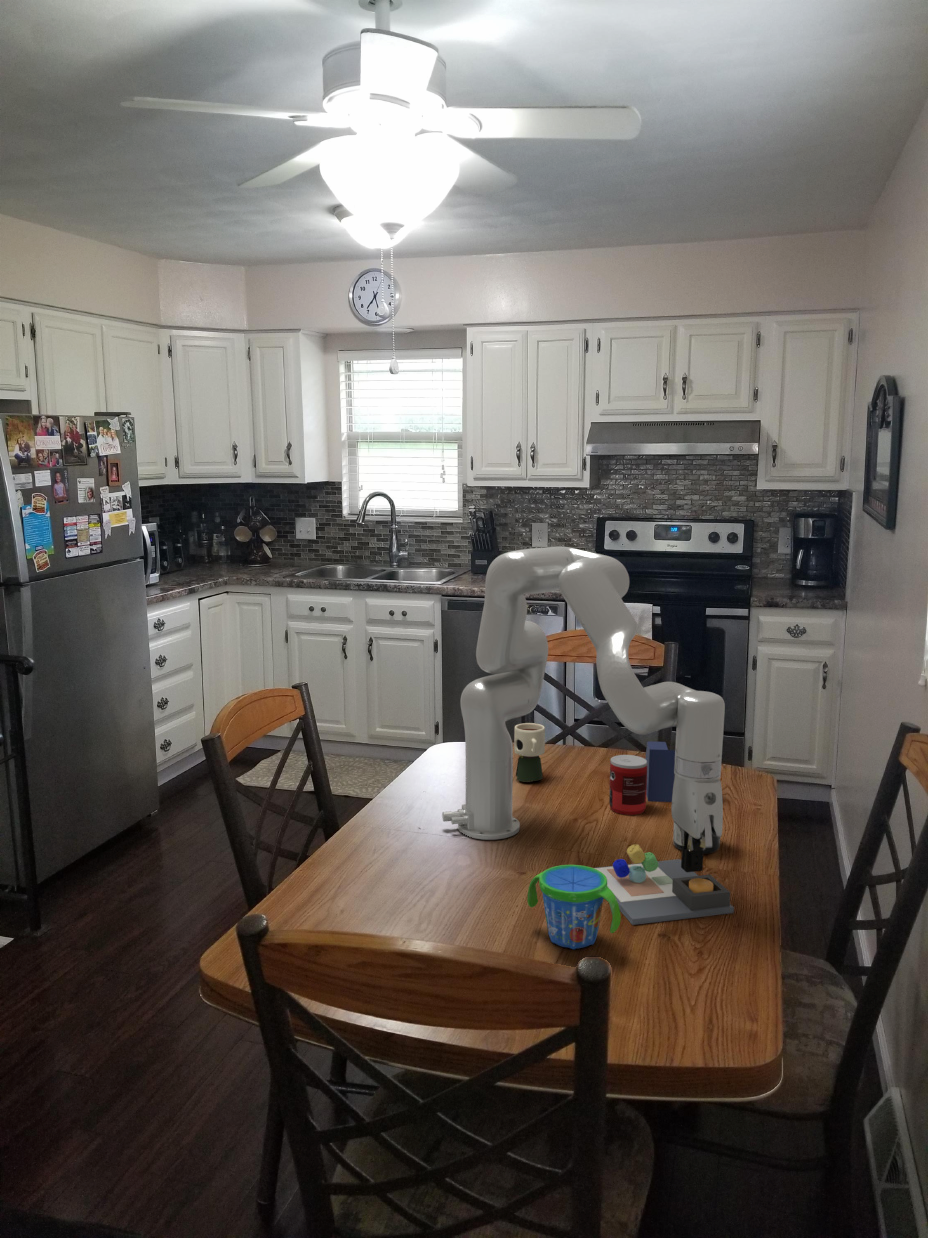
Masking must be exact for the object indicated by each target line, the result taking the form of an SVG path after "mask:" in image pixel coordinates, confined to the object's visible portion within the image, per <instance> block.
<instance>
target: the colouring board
mask: <svg viewBox="0 0 928 1238" xmlns="http://www.w3.org/2000/svg"><path fill="white" fill-rule="evenodd" d="M657 861H658V860H657ZM658 864H659V865H658V868H657V869H656V870H654V871H651V872H648V871H646V870H645V869H644V870H645V873H646V879H645V881H643V882H642V883H635V882H632V881H631V880H630V878H629V874H628V876H626V877H623V878H620V877H618V876H617V875H616V873H615V871H614V868H613V865H609V866H600V867H593V868H594V869H596V870H598V871H600V872H602V873H603V874H604V875H605V876H606V878H607V886H608V888H609V889H610V890H611V891H612V892H613V893H614V895H615V897H616V899H617V901H618V905H619V909H620V913H621V914H623V916H624V917H625V918H626V919H627V920H628V922H629V923H630V924H631V925H632V926H635V925H645V924H651V923H660V922H670V921H679V920H686V919H693V918H694V919H695V918H701V917H703V918H705V917H710V916H718V915H727V914H734V913H735V907H734V906H733V905H732V904H731V891H730V890H729V889H728V888H726V887H725V886H724V885H723V884H722V883H720V882H719V881H718V880H717V879H716V878H715V877H714V876H713V875H711V874H703V875H698V874H697V872H685V871H684V870H683V869H682V868H681V858H677V859H675V858H674V859H669V860H667V859H666V860H659V861H658ZM627 865H628V867H629V868H630V867H632V866H641V867H643V865H642V863H639V864H634V863H627ZM643 868H644V867H643ZM695 878H702V879H707V880H709V881H711V882H712V883H713V891H710V892H701V893H694V892H693V891H691V890H690V889H689V881H690V880H691V879H695Z"/></svg>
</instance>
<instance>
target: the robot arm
mask: <svg viewBox="0 0 928 1238" xmlns="http://www.w3.org/2000/svg"><path fill="white" fill-rule="evenodd" d="M484 584H485V586H484V602H483V603H484V604H483V609H482V613H481V614H482V615H481V619H480V624H479V625H480V626H479V631H478V638H477V643H476V650H475V657H476V663H477V665H478V666H479V668H480V669H481V670H482V671H484V672H485V673H488V674H491V675H486V676H483V677H480V678H476V679H474V680H473V681H471V682H469V683H468V684H467V685H466V686H465V687H464V688H463V690H462V692H461V695H460V700H459V701H460V710H461V711H460V712H461V716H462V719H463V720H462V721H463V726H464V738H465V740H464V741H465V742H464V743H465V752H464V753H465V804H461V808H460V809H457V811H451V810H450V811H443V812H442V815H441V817H442V822H450V823H451V825H457V829H459V830H458V831H459V832H460V833H461V832H462V833H463V835H464V834H465V835H464V836H466V835H467V836H466V837H468V836H469V837H468V838H471V837H472V838H473V839H476V840H486V841H490V840H491V841H494V840H503V839H507V838H510V837H511V838H512V836H515V835H516V834H518V833H519V831H520V830H521V823H520V821H519V820H518V819H517V818H515V817H514V816H513V782H514V781H513V778H514V777H513V774H514V773H513V769H514V767H513V765H514V762H513V761H514V760H513V759H514V757H513V753H514V750H513V749H514V746H513V740H512V737H511V735H510V733H509V730H508V728H507V725H506V722H508V721H510V720H512V719H513V720H514V719H516V718H520V717H523V716H526V715H528V714H530V713H531V712H533V711H534V709H535V708H536V706H537V705H538V704H539V700H540V697H541V693H542V687H543V683H544V677H545V672H546V668H547V667H546V666H547V662H548V657H549V643H548V638H547V636H546V633H545V631H544V629H543V628H542V627H541V626H540V625H539V624H538V623H535V622H533V621H530V620H526V619H527V616H528V615H527V614H528V603H527V599H526V596H525V595H535V594H543V593H550V592H551V593H552V592H558V591H560V593H561V595H562V596H563V598H564V600H565V602H566V604H567V605H568V606H569V608H570V610H571V612H572V613H573V614H574V616H575V618H576V620H577V621H578V622H579V624H580V626H581V627H582V629H583V630H584V632H585V633H586V635H587V637H588V639H589V640H590V642H591V644H592V645H593V647H594V648H595V651H596V660H595V663H596V674H597V678H598V685H599V686H600V690H601V692H602V695H603V697H604V699H605V700H606V703H608V705H609V706H610V708H611V710H612V711H613V713H614V715H615V716H616V717H617V719H618V721H619V722H621V724H622V725H623V726H624V727H625V728H626V729H627V730H628V731H630V732H632V733H634V734H637V735H640V736H642V735H648V734H649V735H650V734H653V733H656V732H658V731H661V730H664V729H667V728H672V727H676V732H675V733H676V734H675V748H674V750H675V766H674V773H675V778H674V785H673V794H672V802H671V818H672V820H673V822H674V821H675V822H676V823H677V826H678V827H679V828H680V831H681V844H682V845H683V846H682V850H681V858H680V860H681V868H682V869H683V870H684V871H685V872H695V873H697V872H702V871H703V867H704V855H705V854H704V850H705V848H712V834H713V835H714V836H715V837H720V838H721V837H722V835H723V822H724V821H723V817H724V815H723V813H724V811H723V810H724V809H723V807H724V806H723V789H722V782H721V779H720V778H721V775H722V774H721V773H722V759H723V757H722V755H723V741H724V725H725V711H726V710H725V708H726V707H725V706H726V704H725V701H724V699H723V697H722V696H721V695H719V694H717V693H714V692H711V691H707V690H706V691H704V690H696V689H693V688H691V687H688V686H685V685H683V684H681V683H678V682H674V681H664V682H659V683H656V684H651V685H649V686H648V685H647V686H645V687H644V686H643V685H642V684H641V682H640V680H639V678H638V677H637V676H636V674H635V672H634V670H633V668H632V665H631V662H630V659H629V648H630V644H631V642H632V640H633V639H634V638H635V636H636V635H637V633H638V631H639V625H638V622H637V620H636V618H635V617H634V616H633V614H632V613H631V612H630V610H629V608H628V607H627V605H626V604H625V602H624V601H623V597H624V596H625V595H626V594H627V593H628V590H629V587H630V575H629V573H628V571H627V568H626V567H625V565H624V564H623V563H621V562H620V561H619V560H618V559H617V558H615V557H612V556H609V555H606V554H605V555H604V554H601V553H597V552H596V553H595V552H592V551H586V550H583V549H578V548H575V547H568V546H549V547H537V548H535V547H534V548H525V549H524V548H523V549H518V550H512V551H508V552H505V553H502V554H500V555H498V556H497V557H495V559H493V560H492V562H491V563H490V565H489V566H488V568H487V572H486V575H485V583H484ZM462 833H461V834H462ZM699 838H700V839H699Z"/></svg>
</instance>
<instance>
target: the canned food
mask: <svg viewBox="0 0 928 1238" xmlns="http://www.w3.org/2000/svg"><path fill="white" fill-rule="evenodd" d="M609 761H610V763H609V764H610V765H609V803H608V805H609V808H610V810H611V812H612V811H613V812H614V813H616V814H618V815H619V814H620V815H623V816H624V815H625V816H636V815H641V814H643V813H644V812H645V810H646V807H647V795H646V789H647V760H646V759H645V758H644V757H642V756H638V755H632V754H618V755H615V756H612V757H610V760H609Z"/></svg>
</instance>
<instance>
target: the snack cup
mask: <svg viewBox="0 0 928 1238" xmlns="http://www.w3.org/2000/svg"><path fill="white" fill-rule="evenodd" d="M594 868H595V867H591V866H586V865H580V864H579V865H578V864H561V865H556V866H552V867H549V868H547V869H545V870H544V871H541V872H540V873H538V874H536V875H535V876H534V877H533V878H532V879H531V881H530V882H529V886H528V891H527V896H526V897H527V904H528V906H529V907H530V908H535V907H536V906H537V905H538V903H539V899H538V893H537V892H538V891H537V884H538V882H539V884H538V885H539V888H540V892H541V894H542V901H543V907H544V913H545V921H546V927H547V932H548V933H547V934H548V937H549V938H550V942H552V943H553V944H556V945H557V946H559V947H563V948H569V949H571V950H576V949H582V948H586V947H589V946H590V945H592V946H593V945H594V944H595V942H596V939H597V938H598V937H597V936H598V933H599V929H600V928H599V927H600V921H601V917H602V911H603V905H604V900H605V901H607V902H608V904H609V907H610V912H611V916H612V918H611V922H610V929H609V932H610V934H614V933H615V932H616V931H617V930H618V929H619V927H620V924H621V921H622V920H621V919H622V917H621V911H620V909H619V905H618V901H617V899H616V897H615V895H614V893H613V892H612V891H611V890H610V889H609V888H608V886H607V878H606V876H605V875H604V874H603V873H602V872H600V871H598V870H596V869H594Z"/></svg>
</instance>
